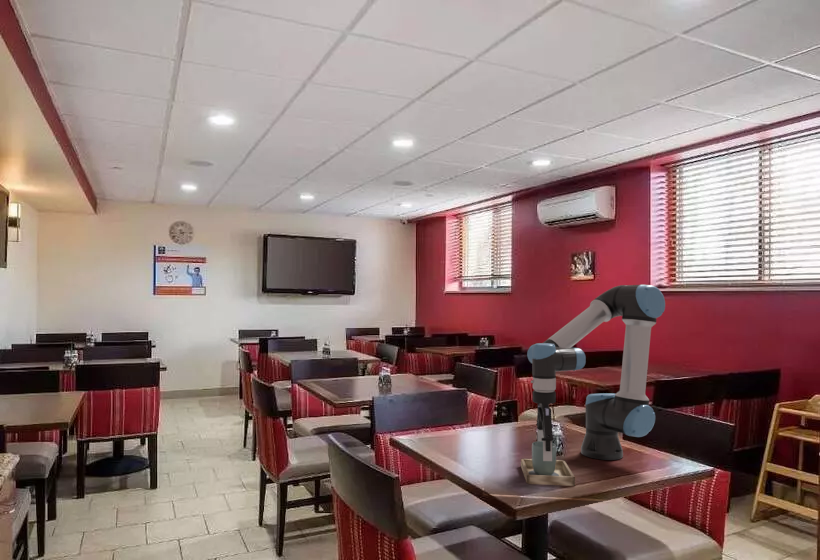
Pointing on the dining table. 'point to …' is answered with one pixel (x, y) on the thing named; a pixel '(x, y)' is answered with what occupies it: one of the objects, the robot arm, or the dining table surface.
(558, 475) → the pad
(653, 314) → the robot arm
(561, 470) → the wooden tray
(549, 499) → the dining table surface
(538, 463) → the cup
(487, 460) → the dining table surface
